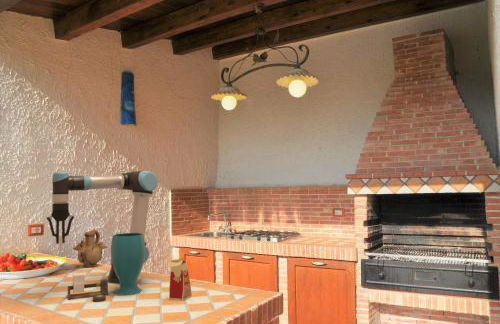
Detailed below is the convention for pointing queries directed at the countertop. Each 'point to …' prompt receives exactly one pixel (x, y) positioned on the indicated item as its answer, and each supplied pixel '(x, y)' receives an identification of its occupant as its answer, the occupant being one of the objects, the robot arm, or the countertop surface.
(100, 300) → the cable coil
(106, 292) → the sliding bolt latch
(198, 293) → the countertop surface
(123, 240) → the vase
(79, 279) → the sleeve
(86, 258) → the ceramic vessel
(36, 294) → the countertop surface
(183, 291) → the milk carton
